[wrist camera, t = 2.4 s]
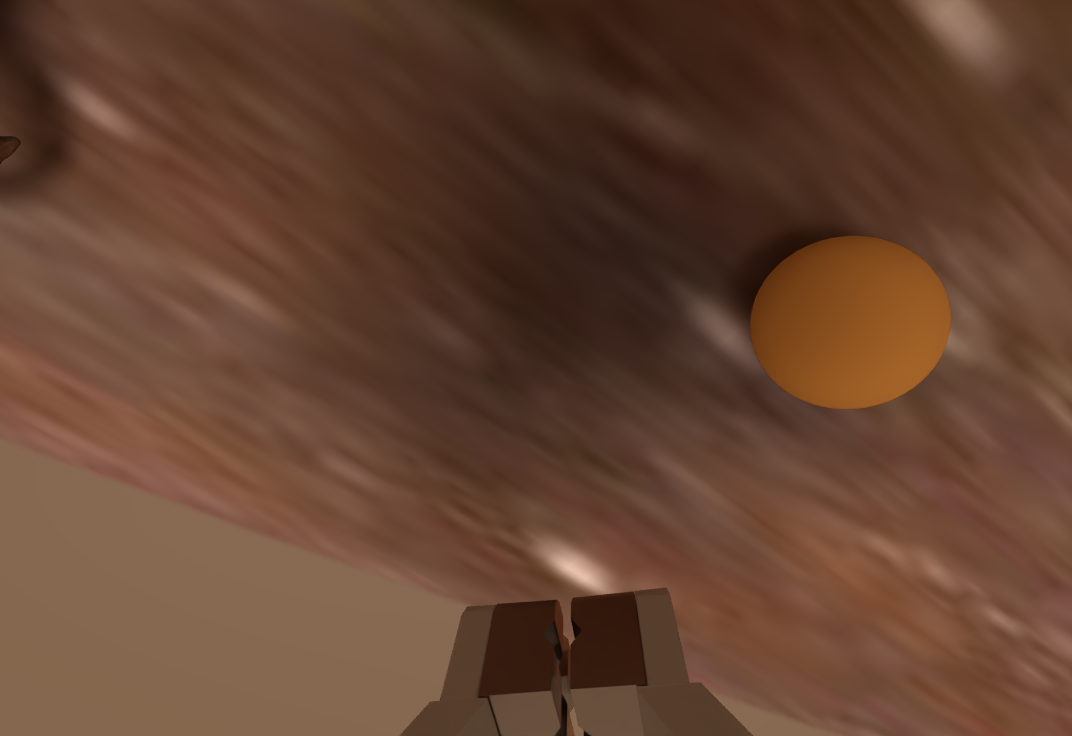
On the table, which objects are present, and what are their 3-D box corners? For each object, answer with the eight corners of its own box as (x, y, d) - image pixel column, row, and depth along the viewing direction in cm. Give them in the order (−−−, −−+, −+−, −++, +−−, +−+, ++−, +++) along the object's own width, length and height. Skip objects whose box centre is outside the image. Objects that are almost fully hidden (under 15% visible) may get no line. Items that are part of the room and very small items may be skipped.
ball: (726, 242, 21) (782, 269, 15) (889, 213, 20) (1012, 230, 14) (735, 381, 23) (787, 451, 17) (883, 360, 22) (989, 426, 16)
